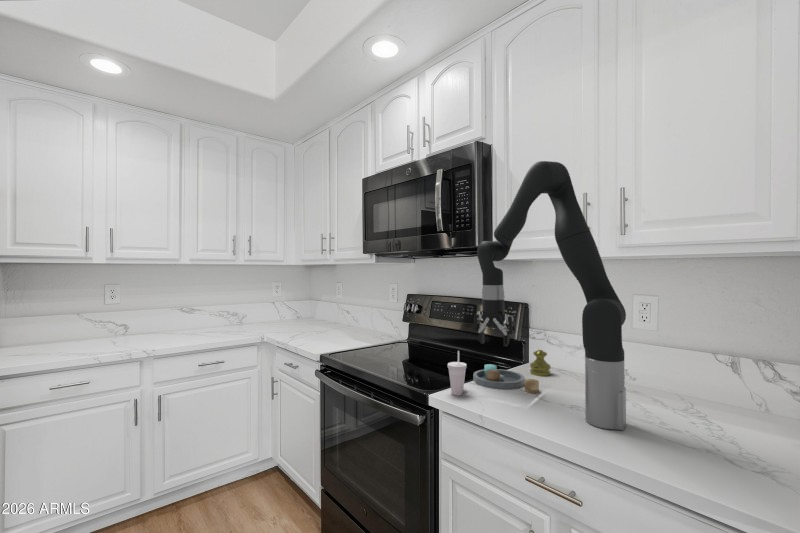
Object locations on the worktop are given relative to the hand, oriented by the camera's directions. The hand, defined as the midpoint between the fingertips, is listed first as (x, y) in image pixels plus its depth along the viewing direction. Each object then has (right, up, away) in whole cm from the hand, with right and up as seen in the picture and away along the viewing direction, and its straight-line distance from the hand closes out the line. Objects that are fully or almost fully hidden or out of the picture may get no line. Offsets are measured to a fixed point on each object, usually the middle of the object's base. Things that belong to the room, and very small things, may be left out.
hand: (493, 344), depth 131 cm
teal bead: (+1, -14, +8) cm, 16 cm away
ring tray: (+3, -15, +4) cm, 15 cm away
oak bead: (+11, -15, -7) cm, 20 cm away
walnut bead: (0, -14, 0) cm, 14 cm away
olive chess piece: (+21, -15, +13) cm, 29 cm away
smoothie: (-14, -15, -7) cm, 21 cm away
